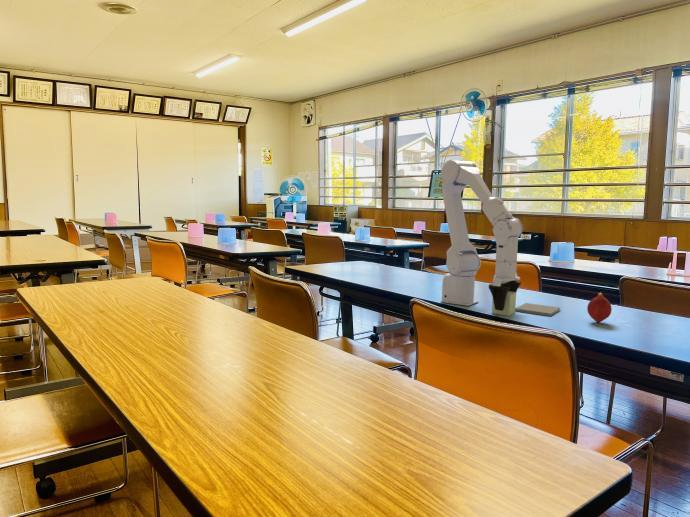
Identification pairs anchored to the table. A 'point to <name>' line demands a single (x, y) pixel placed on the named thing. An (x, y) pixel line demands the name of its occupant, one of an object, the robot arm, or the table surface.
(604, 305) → the onion
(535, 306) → the coaster
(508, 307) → the block
